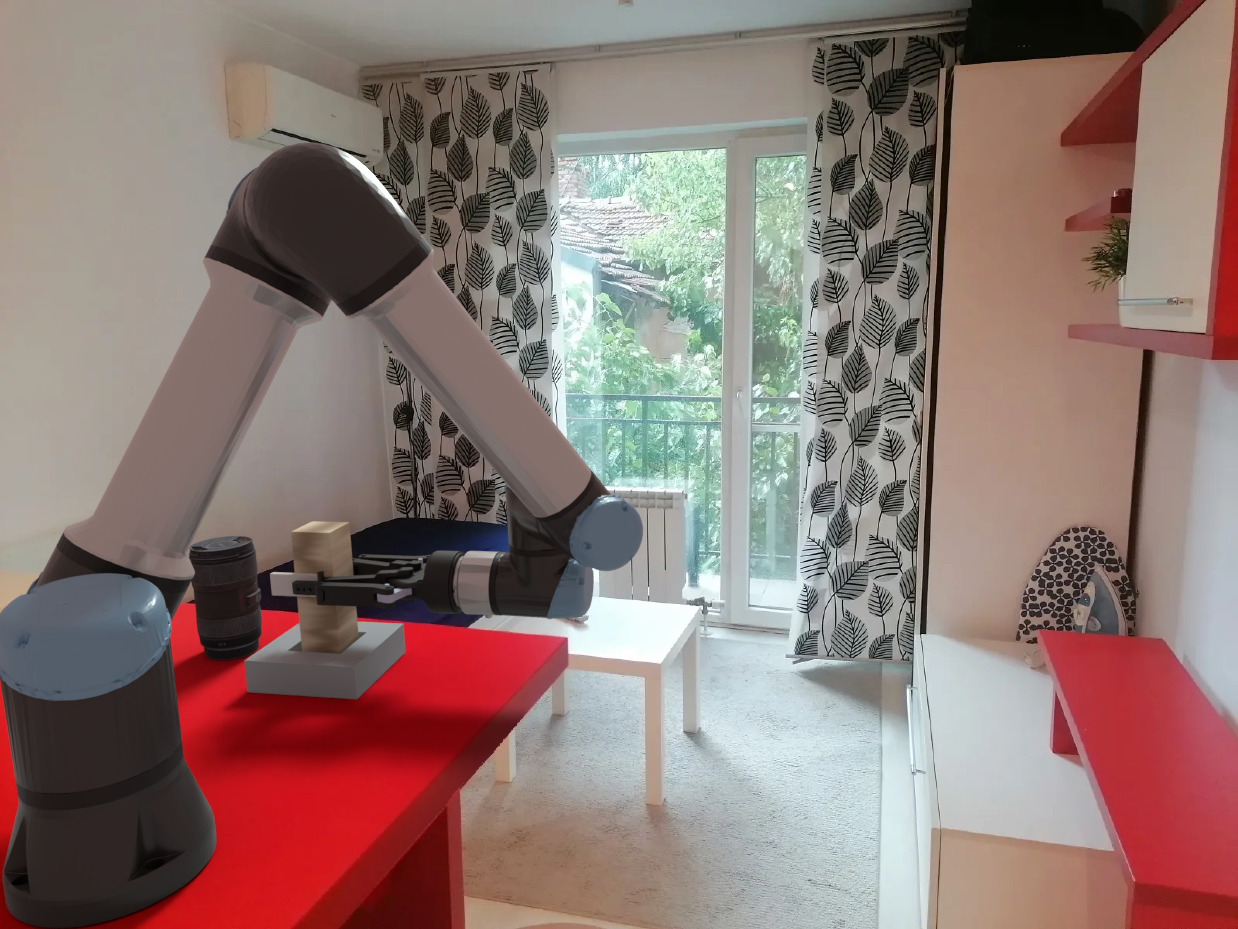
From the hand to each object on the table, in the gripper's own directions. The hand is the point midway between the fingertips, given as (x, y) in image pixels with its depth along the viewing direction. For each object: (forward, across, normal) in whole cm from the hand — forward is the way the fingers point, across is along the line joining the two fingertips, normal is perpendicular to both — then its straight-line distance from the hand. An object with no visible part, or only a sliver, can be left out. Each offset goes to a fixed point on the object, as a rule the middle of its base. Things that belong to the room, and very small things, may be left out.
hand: (285, 576), depth 109 cm
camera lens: (+12, +4, -12) cm, 18 cm away
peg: (-5, 0, -10) cm, 11 cm away
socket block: (-5, 0, -12) cm, 13 cm away
